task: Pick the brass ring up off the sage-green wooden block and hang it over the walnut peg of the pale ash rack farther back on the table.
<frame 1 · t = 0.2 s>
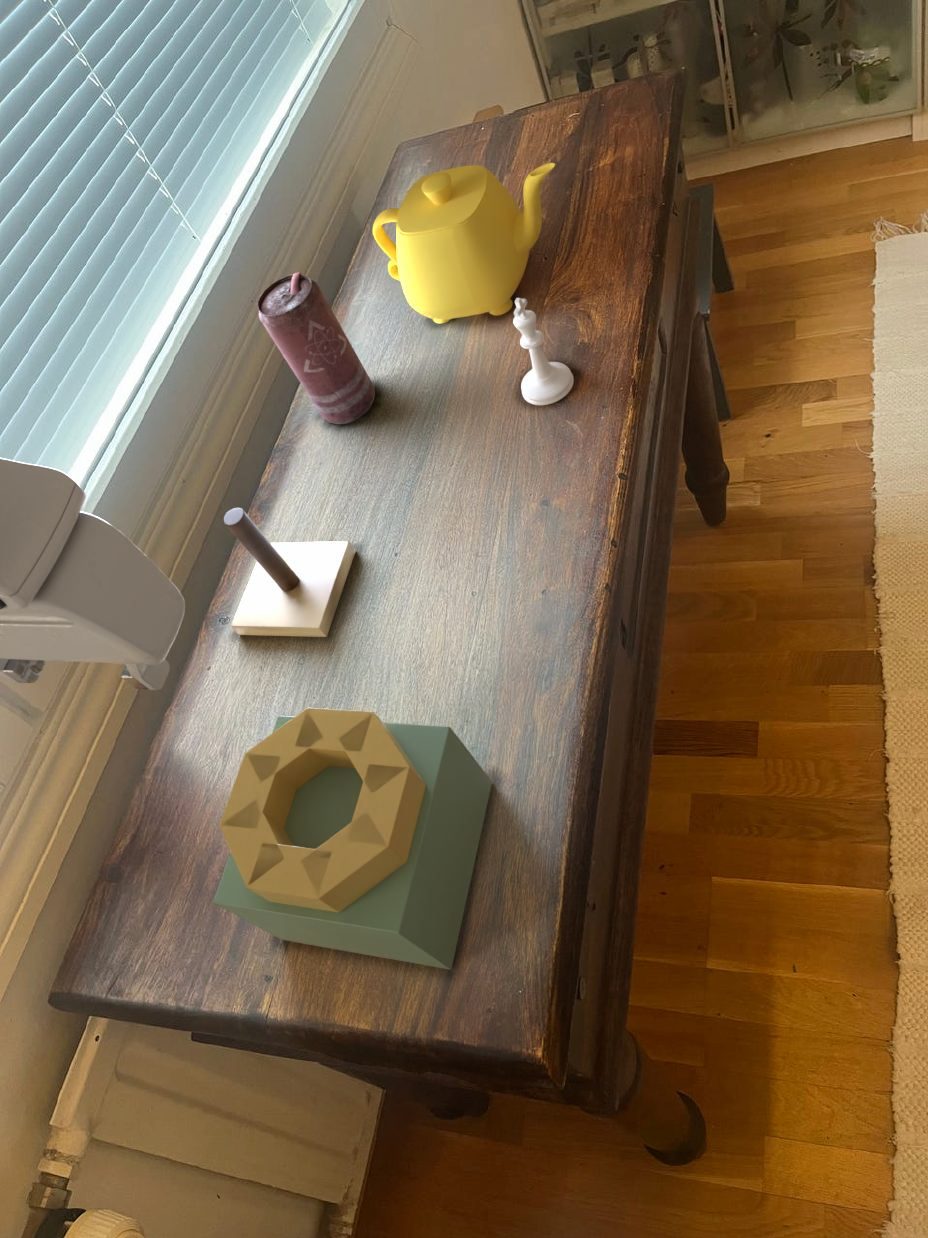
hand: (92, 675, 54), 21 cm above the table, tool pointing down, fingers open, 8 cm apart
plinth: (388, 860, 65), on the table
brass ring: (332, 813, 58), point 9 cm above the table, touching plinth
rack: (297, 592, 82), on the table
teapot: (490, 289, 97), on the table
can: (350, 404, 94), on the table
chess piece: (548, 387, 86), on the table
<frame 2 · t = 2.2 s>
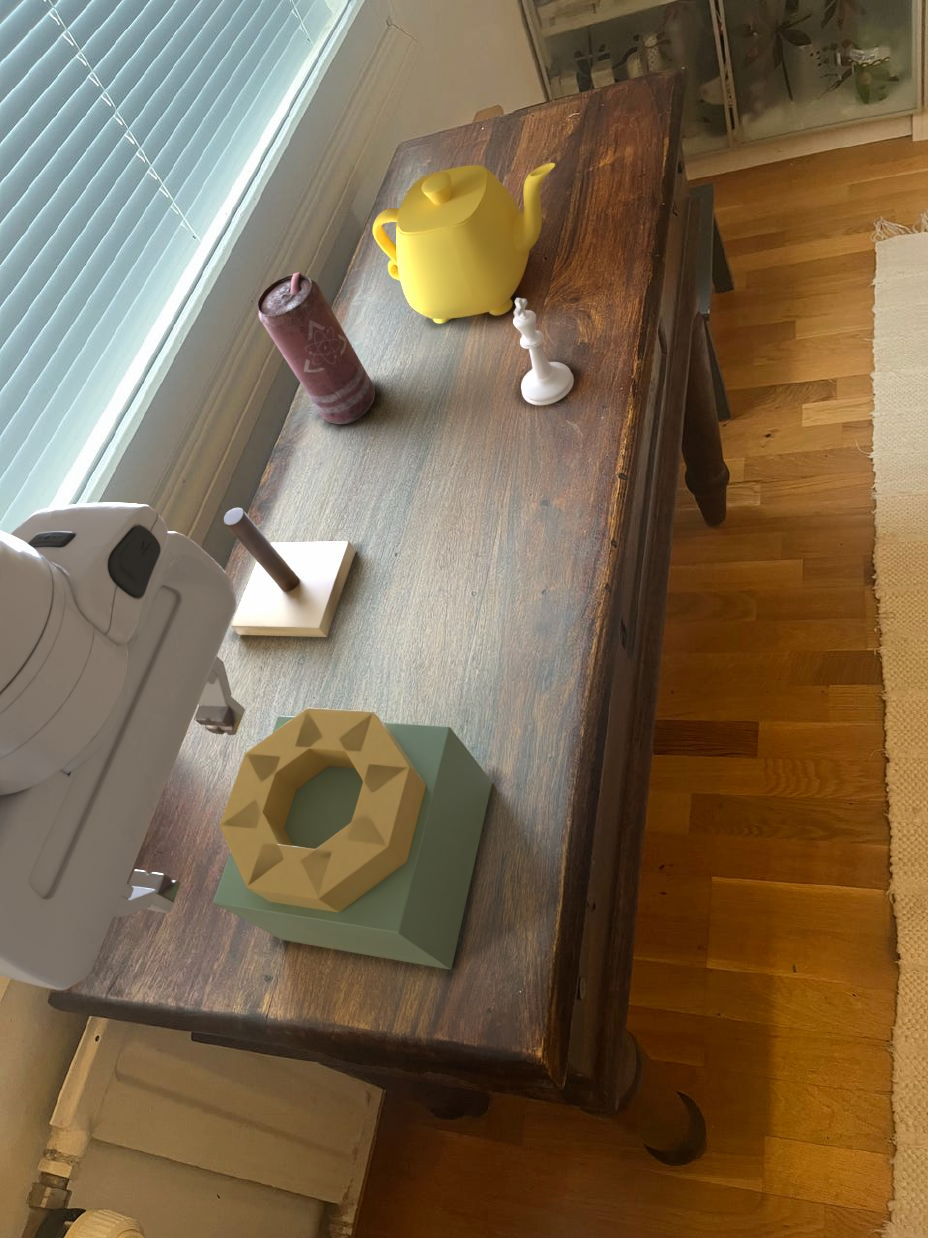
hand: (199, 806, 48), 21 cm above the table, tool pointing down, fingers open, 8 cm apart
nothing on the table moved.
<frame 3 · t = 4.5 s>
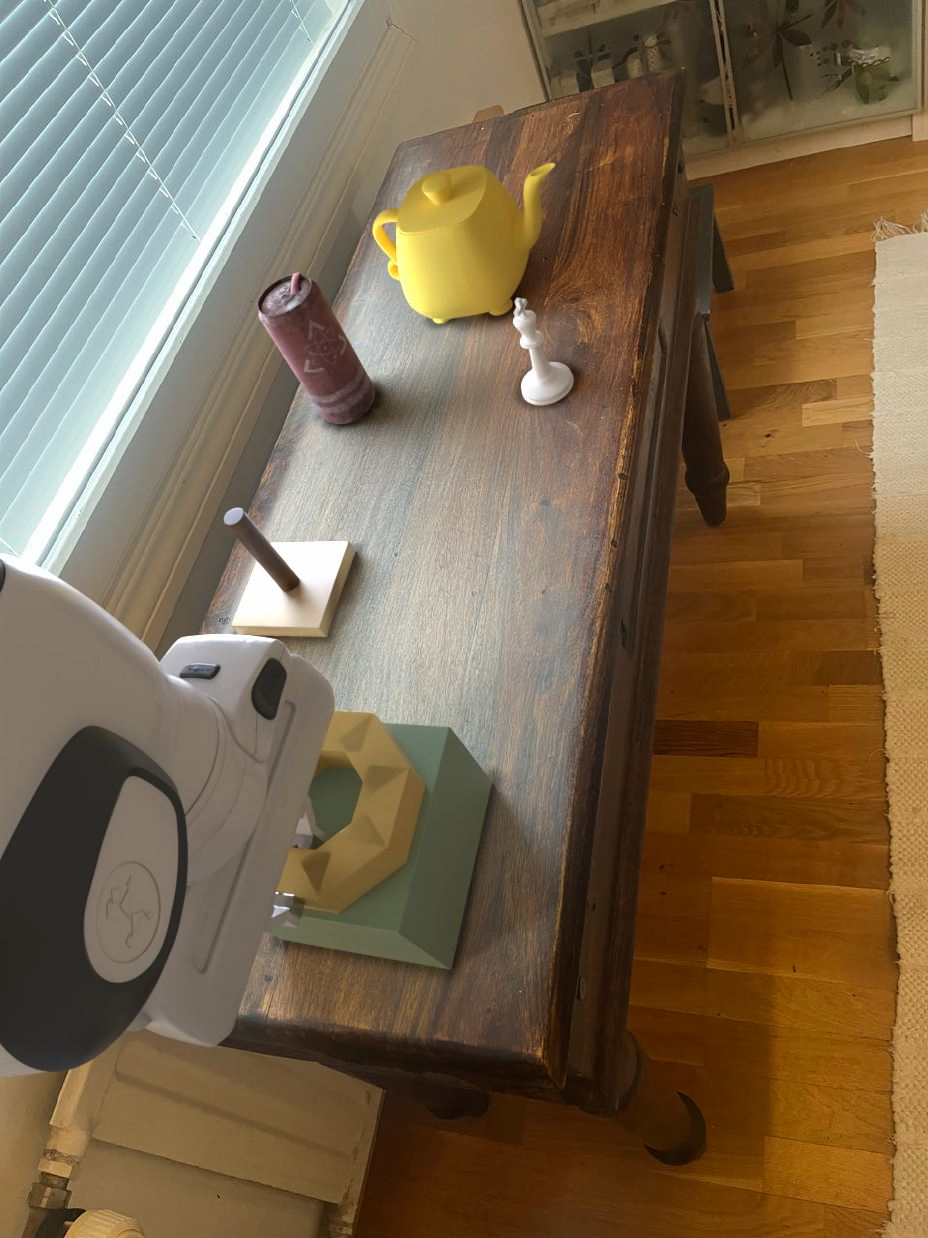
hand: (302, 878, 55), 10 cm above the table, tool pointing down, fingers closed on brass ring, 3 cm apart
brass ring: (332, 814, 58), point 9 cm above the table, touching gripper, plinth
everything else where it was.
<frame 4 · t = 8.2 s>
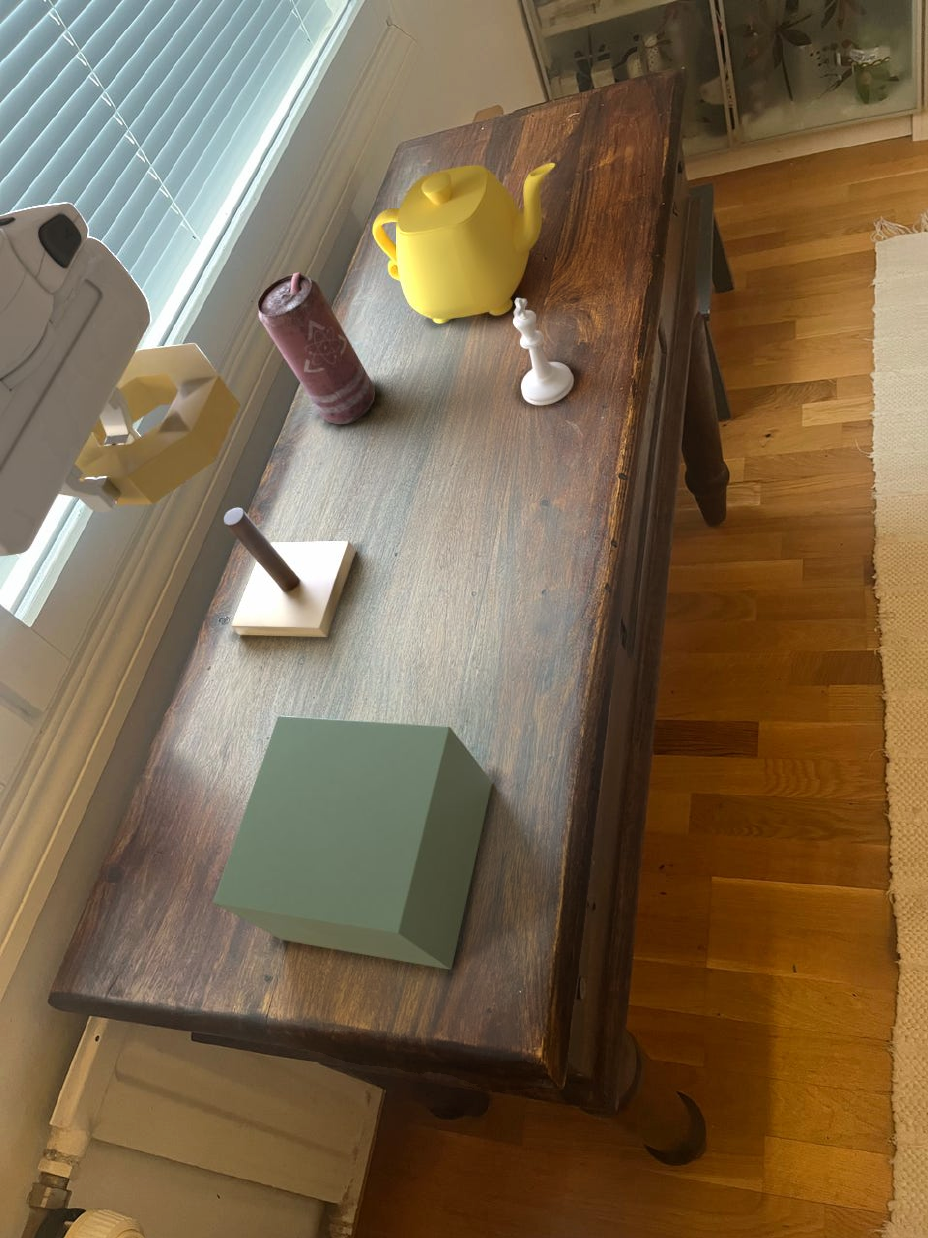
hand: (122, 478, 61), 23 cm above the table, tool pointing down, fingers closed on brass ring, 3 cm apart
brass ring: (157, 437, 64), point 22 cm above the table, touching gripper
everything else where it was.
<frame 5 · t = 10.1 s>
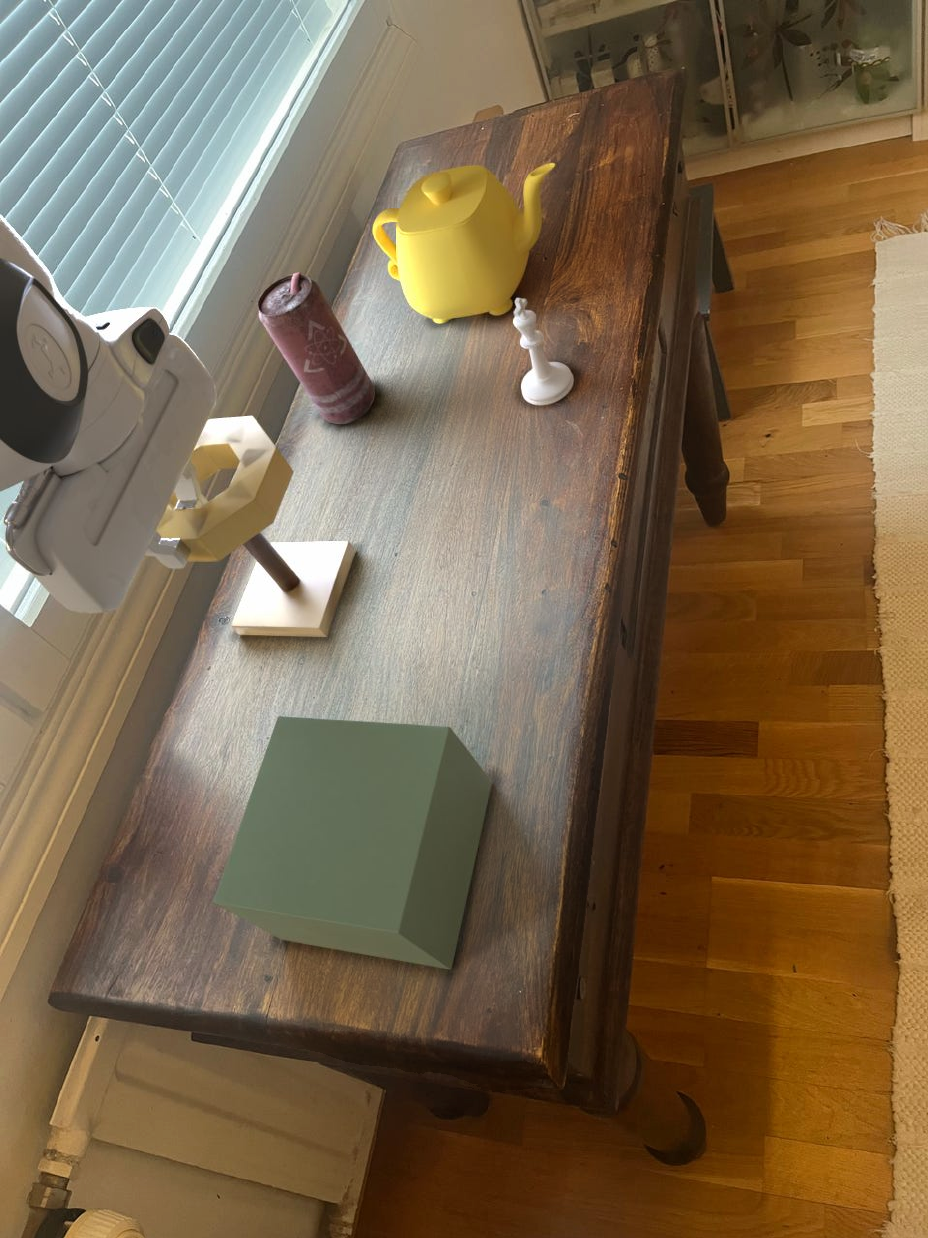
hand: (191, 537, 69), 14 cm above the table, tool pointing down, fingers closed on brass ring, 3 cm apart
brass ring: (219, 499, 72), point 13 cm above the table, touching gripper
everything else where it was.
when the fingers open (9 cm above the table, at t = 12.0 s): brass ring drops 6 cm, resting on rack.
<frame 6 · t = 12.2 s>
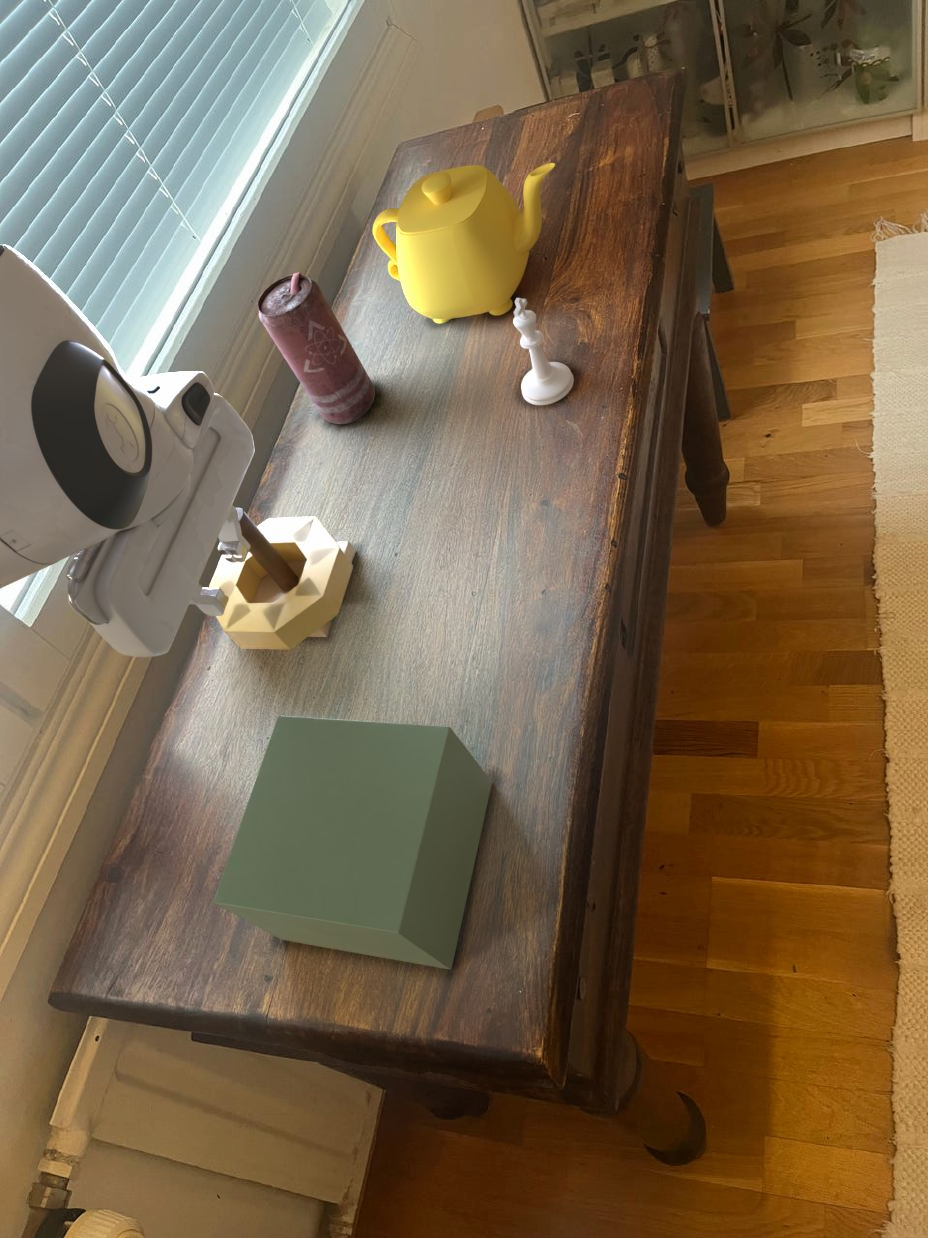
hand: (230, 581, 73), 9 cm above the table, tool pointing down, fingers open, 4 cm apart
brass ring: (286, 590, 81), point 1 cm above the table, touching rack
everything else where it was.
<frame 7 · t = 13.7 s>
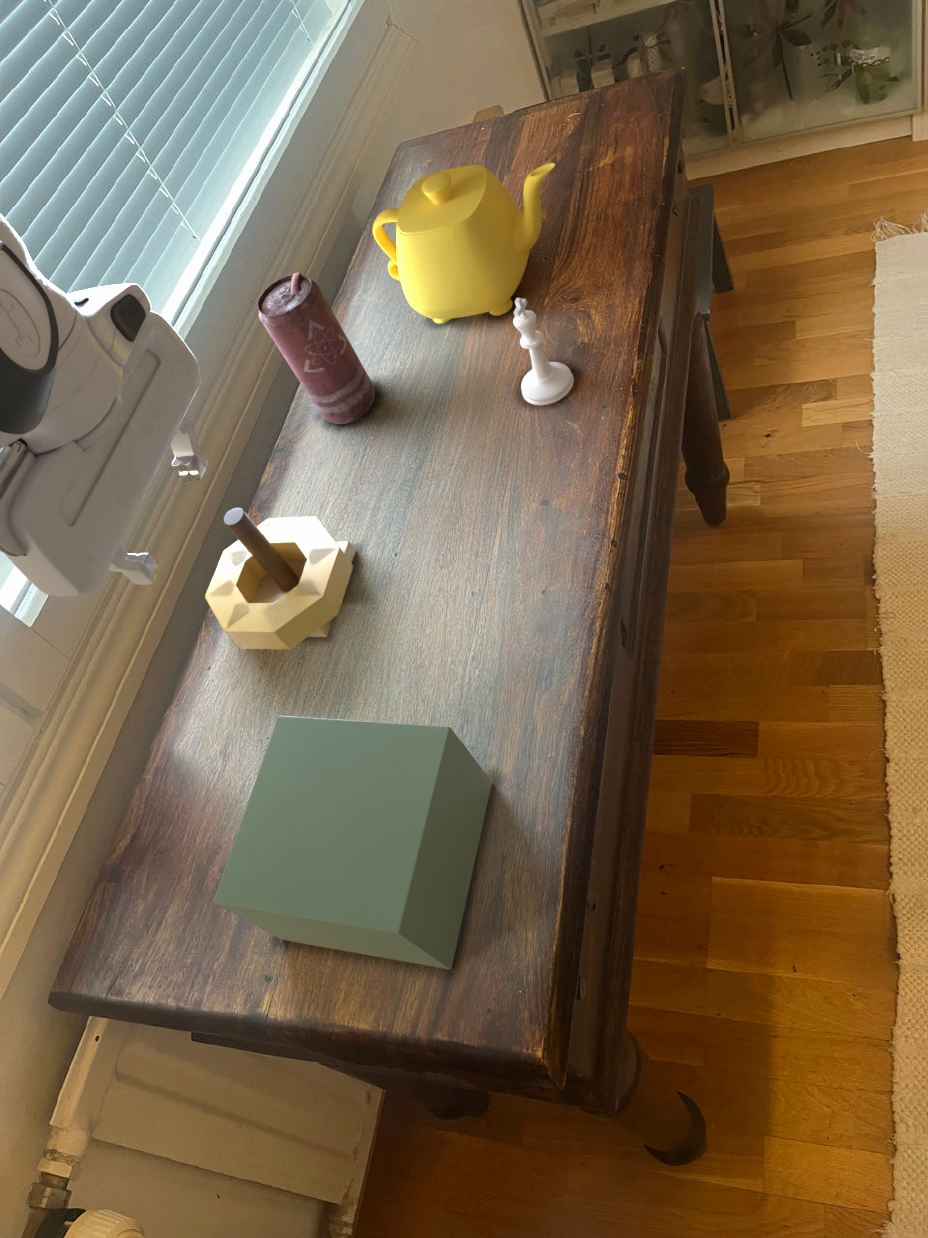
hand: (174, 523, 67), 16 cm above the table, tool pointing down, fingers open, 8 cm apart
nothing on the table moved.
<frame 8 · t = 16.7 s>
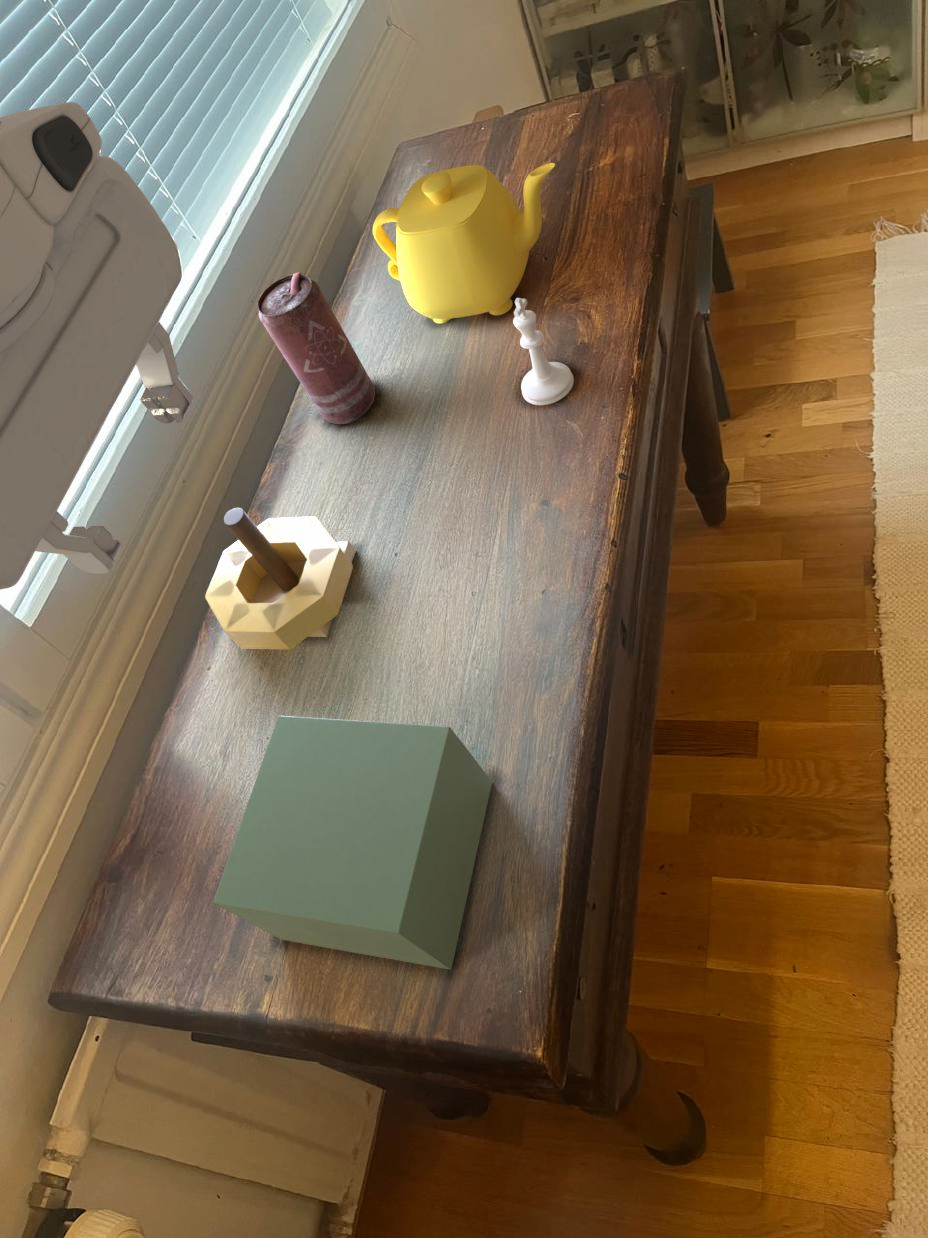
hand: (144, 483, 46), 31 cm above the table, tool pointing down, fingers open, 8 cm apart
nothing on the table moved.
at the end: brass ring 0.8 cm from the rack (horizontally); brass ring 0.8 cm off-centre on the rack, point 1.5 cm above the rack's base; the gripper is holding nothing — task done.
